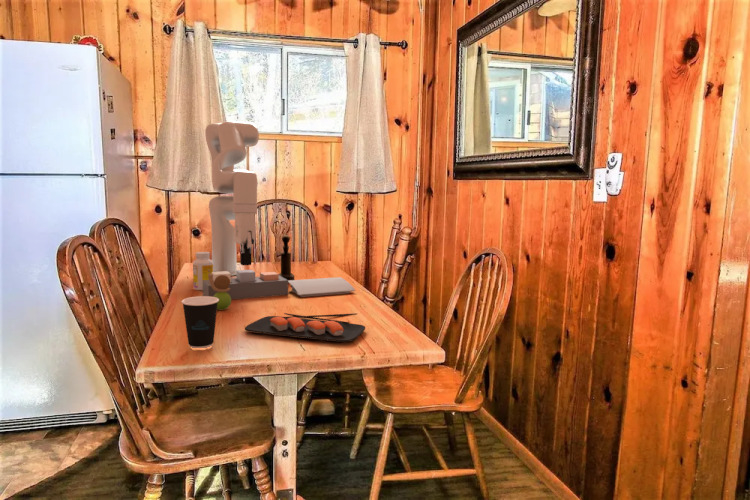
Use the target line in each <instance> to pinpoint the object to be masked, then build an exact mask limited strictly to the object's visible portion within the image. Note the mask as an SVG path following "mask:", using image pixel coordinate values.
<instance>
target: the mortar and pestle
mask: <svg viewBox="0 0 750 500" xmlns="http://www.w3.org/2000/svg"><path fill="white" fill-rule="evenodd" d="M290 240H291V238H290V235H289V234H283V235H282V237H281V241H282V242H283V246H282V249H283V251H282V252H280V273H278V274H279V276H281V277H283V278H285V279H287V280H295V275H294V274H293V273H292V252H289V250H290V246H289V242H290Z"/></svg>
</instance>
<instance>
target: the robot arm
mask: <svg viewBox="0 0 750 500" xmlns="http://www.w3.org/2000/svg"><path fill="white" fill-rule="evenodd" d="M204 133H205V135H204V137H205V142H206V145H207V148H208V151H209V153H210V157H211V183H212V188H213V190H214V191H215V192H217V193H221V194H232V195H231V196H230V195H221V196H220V195H219V196H218V195H217V196H214V197H212V198H211V199H210V200H209V201H208V210H209V212H208V213H209V216H210V224H211V225H210V226H211V260H212V261H213V272H221V271H228V272H229V273H231V277H233V276H236V271H239V270H240V269H238V268H237V244H238V245H239V249H240V250H239V251H240V253H239V254H240V256H239V257H240V259H239V260H240V262H239V264H240V265H241V266H251V265H252V247H253V245H254V244H256V234H257V233H256V218H255V217H256V216H255V215H257V214H258V184H259V183H258V175H257V173H256V172H254V171H249V170H248V169H237V168H235V165H237V164H240V163H242V162H243V161H244V160H245V159H246V157H247V153H248V151H247V148H249V147H255V146H256V145H257V144H258V143H259V139H260V134H259V133H260V132H259V130H258V127H257V125H256V124H255V123H253V122H251V121H250V122H249V121H246V122H245V121H236V120H226V121H222V122H213V123H209V124H207V126H206V127H205V131H204ZM230 221H234V225H233V224H232V223H231V222H230Z"/></svg>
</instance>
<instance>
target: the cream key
mask: <svg viewBox="0 0 750 500" xmlns="http://www.w3.org/2000/svg"><path fill="white" fill-rule="evenodd" d="M212 274H213V281H215V279H216V277H218V276H220V275H225V276H227V277H228V278H229V279H230V283H231V278H232V276H231V273H229V272H228V271H221V272H212Z"/></svg>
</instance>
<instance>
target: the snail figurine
mask: <svg viewBox="0 0 750 500" xmlns="http://www.w3.org/2000/svg"><path fill="white" fill-rule="evenodd" d="M208 272H210V270H208ZM208 278H209V281H210V285H211V287H212V289H213V290H214V291H217V292H218V293H216V294H215V295H214V296H213V297H216V298H218V299H219V301H218V302H217V311H224V310H227V309H228V308H229V307H230V306H231V303H232V300H231V297H230V295H229V294H228V293H226V292H227V291H229V290H230V288H228V287H229V286H230V279H229V278H228V277H227V276H225V275H220V276H218V277H216V279H215V281H213V274H208Z"/></svg>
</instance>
